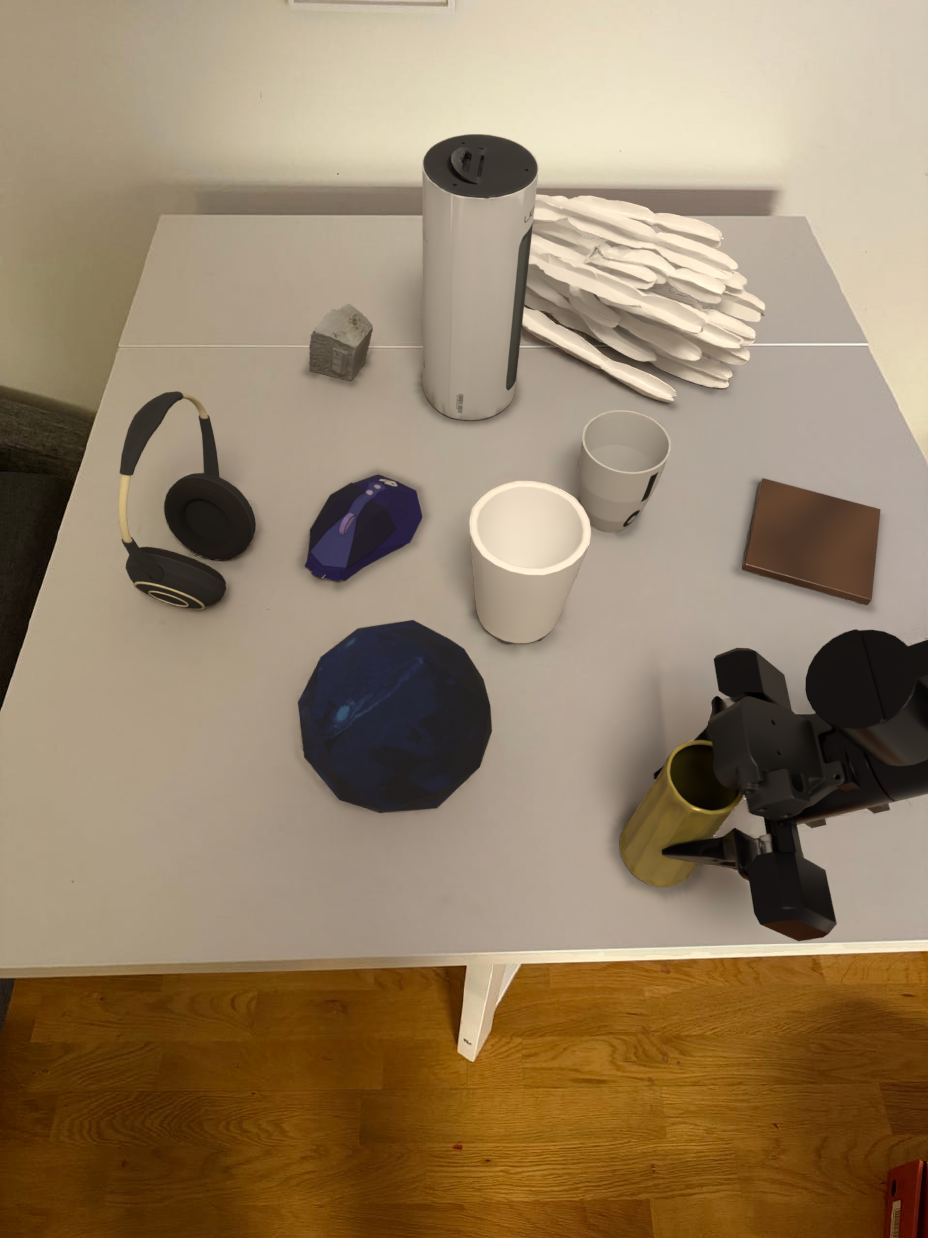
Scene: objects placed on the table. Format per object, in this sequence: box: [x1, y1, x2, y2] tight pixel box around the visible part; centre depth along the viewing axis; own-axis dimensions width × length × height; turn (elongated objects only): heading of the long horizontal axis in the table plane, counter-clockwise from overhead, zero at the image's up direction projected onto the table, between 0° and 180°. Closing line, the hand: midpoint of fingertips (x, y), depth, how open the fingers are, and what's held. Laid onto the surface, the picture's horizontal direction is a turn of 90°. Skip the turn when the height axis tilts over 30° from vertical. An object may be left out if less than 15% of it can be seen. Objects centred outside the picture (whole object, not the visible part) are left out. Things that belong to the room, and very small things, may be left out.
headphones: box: [117, 390, 257, 611], centre depth 73 cm, size 9×15×20 cm, turn 165°
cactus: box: [522, 193, 766, 403], centre depth 96 cm, size 17×18×35 cm
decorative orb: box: [297, 619, 493, 814], centre depth 66 cm, size 14×15×15 cm
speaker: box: [421, 133, 540, 422], centre depth 86 cm, size 11×10×26 cm
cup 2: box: [578, 409, 672, 533], centre depth 83 cm, size 8×8×10 cm
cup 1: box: [468, 480, 592, 645], centre depth 75 cm, size 10×10×13 cm
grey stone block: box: [308, 303, 374, 382], centre depth 94 cm, size 7×9×8 cm
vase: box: [619, 740, 745, 888], centre depth 62 cm, size 6×6×14 cm
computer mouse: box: [304, 474, 423, 583], centre depth 83 cm, size 9×15×4 cm, turn 152°
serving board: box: [741, 477, 881, 606], centre depth 86 cm, size 12×12×1 cm
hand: (660, 815), depth 62 cm, fingers closed on vase, 5 cm apart
